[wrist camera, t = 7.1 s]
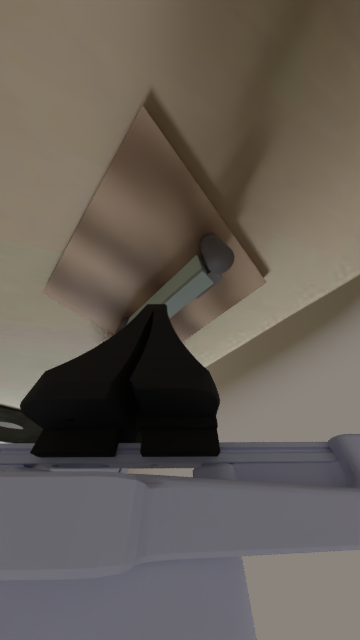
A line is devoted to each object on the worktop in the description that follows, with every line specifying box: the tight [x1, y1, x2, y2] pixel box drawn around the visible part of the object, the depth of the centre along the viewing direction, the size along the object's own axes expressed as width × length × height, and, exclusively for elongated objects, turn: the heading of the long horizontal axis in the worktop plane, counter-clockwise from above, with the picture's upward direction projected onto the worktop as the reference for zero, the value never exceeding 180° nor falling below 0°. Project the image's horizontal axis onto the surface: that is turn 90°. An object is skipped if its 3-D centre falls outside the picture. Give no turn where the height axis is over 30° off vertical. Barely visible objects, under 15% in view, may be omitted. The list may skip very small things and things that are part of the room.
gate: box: [127, 255, 214, 324], centre depth 17 cm, size 12×1×5 cm, turn 133°
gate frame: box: [42, 105, 266, 342], centre depth 17 cm, size 20×18×6 cm
